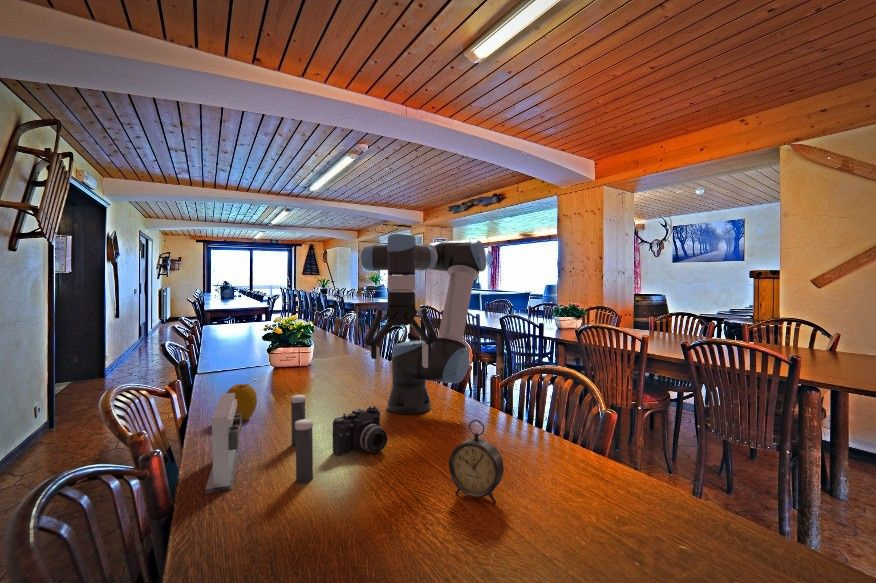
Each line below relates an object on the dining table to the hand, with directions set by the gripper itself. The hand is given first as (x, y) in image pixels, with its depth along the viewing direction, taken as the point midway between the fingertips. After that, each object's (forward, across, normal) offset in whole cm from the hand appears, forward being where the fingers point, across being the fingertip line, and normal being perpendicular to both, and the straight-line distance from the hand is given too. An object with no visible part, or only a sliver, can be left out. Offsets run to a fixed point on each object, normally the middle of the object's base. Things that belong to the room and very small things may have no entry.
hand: (401, 369), depth 115 cm
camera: (+21, +10, 0) cm, 24 cm away
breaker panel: (+21, +43, +1) cm, 48 cm away
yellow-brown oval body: (+21, +43, -37) cm, 61 cm away
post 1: (+21, +26, -10) cm, 35 cm away
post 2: (+21, +26, +12) cm, 35 cm away
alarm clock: (+21, -7, +32) cm, 39 cm away
